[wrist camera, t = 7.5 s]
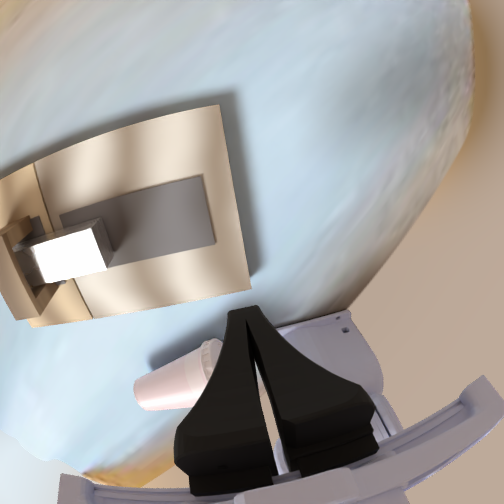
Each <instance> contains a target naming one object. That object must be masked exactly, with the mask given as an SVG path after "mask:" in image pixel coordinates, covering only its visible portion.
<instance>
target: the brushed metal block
mask: <svg viewBox="0 0 504 504" xmlns="http://www.w3.org/2000/svg"><path fill="white" fill-rule="evenodd" d="M12 249H13V251H14V254H15V256H16V258H17V261H18V263H19V265H20V267H21V270H22V272H23V274H24V276H25V278H26V280H27V282H28V284H29V286H30V287H33V286H38V285H42V284H46V283H50V282H55V281H59V280H63V279H67V278H72V277H76V276H80V275H85V274H89V273H94V272H98V271H102V270H107V268H108V266H109V264H110V262H111V260H112V259H113V257H114V255H115V254H114V252H113V249H112V246H111V243H110V241H109V238H108V235H107V232H106V229H105V226H104V223H103V220H102V217H99V218H96V219H92V220H89V221H86V222H82V223H79V224H76V225H73V226H69V227H66V228H63V229H60V230H57V231H54V232H51V233H48V234H45V235H42V236H39V237H36V238H33V239H30V240H27V241H25V242H22V243H19V244H16V245H15V246H14V247H13V248H12Z"/></svg>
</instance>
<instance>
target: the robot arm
mask: <svg viewBox="0 0 504 504" xmlns="http://www.w3.org/2000/svg"><path fill="white" fill-rule="evenodd" d="M338 316H339V317H338ZM254 359H255V360H254ZM255 362H256V364H257V367H258V370H259V373H260V375H261V378H262V381H263V383H264V386H265V389H266V391H267V394H268V397H269V400H270V403H271V406H272V410H273V414H274V418H275V421H276V425H277V429H278V432H279V436H280V438H278V439H277V441H276V445H275V447H274V453H273V450H272V446H271V442H270V439H269V435H268V431H267V427H266V423H265V419H264V415H263V411H262V407H261V402H260V396H259V389H258V382H257V374H256V367H255ZM382 392H383V374H382V371H381V367H380V364H379V362H378V360H377V358H376V356H375V354H374V353H373V351H372V350H371V348H370V346H369V345H368V343H367V342H366V340H365V339H364V338H363V336H362V334H361V333H360V332H359V330H358V329H357V327H356V326H355V324H354V323H353V321H352V320H351V312H350V311H349V310H344V311H341V312H337V313H334V314H330V315H327V316H323V317H319V318H316V319H312V320H308V321H304V322H301V323H297V324H293V325H289V326H285V327H281V328H276V329H275V328H274V327H273V326H272V324H271V323H270V322H269V321H268V319H267V318H266V317H265V316H264V314H263V313H262V311H261V309H260V308H259V306H257V305H254V306H250V307H245V308H241V309H236V310H231V311H229V312H228V319H227V327H226V332H225V337H224V341H223V345H222V348H221V351H220V354H219V357H218V360H217V363H216V365H215V368H214V370H213V373H212V375H211V377H210V379H209V381H208V383H207V385H206V387H205V389H204V390H203V392H202V394H201V395H200V397H199V399H198V400H197V402H196V403H195V405H194V406H193V408H192V409H191V411H190V412H189V413H188V414H187V416H186V417H185V418H184V419H183V421H182V422H181V423H180V424H179V426H178V427H177V430H176V434H175V440H174V463H175V464H176V466H177V467H179V468H180V469H181V470H182V471H183V472H185V473H186V474H187V475H188V476H189V485H190V488H167V489H166V488H161V489H160V488H156V489H155V488H131V487H117V486H107V485H99V484H94V483H92V482H91V481H90V480H88V479H86V478H83V477H79V476H74V475H68V474H63V473H62V474H61V477H60V483H59V492H58V502H57V504H409V501H408V499H407V497H406V495H405V493H404V491H406V490H408V489H410V488H411V487H413V486H415V485H417V484H419V483H420V482H422V481H424V480H425V479H427V478H428V477H430V476H432V475H433V474H435V473H436V472H438V471H439V470H441V469H442V468H444V467H445V466H447V465H448V464H450V463H451V462H452V461H454V460H455V459H457V458H458V457H459V456H461V455H462V454H463V453H465V452H466V451H467V450H469V449H470V448H471V447H473V446H474V445H475V444H476V443H478V442H479V441H480V440H481V439H482V438H484V437H485V436H486V435H487V434H488V433H489V432H490V431H491V430H492V429H493V428H494V427H495V426H496V425H497V424H498V423H499V422H500V421H501V420H502V419H503V418H504V400H503V399H502V397H501V396H500V395H499V394H498V392H497V391H496V390H495V388H494V387H493V386H492V385H491V383H490V382H489V381H488V380H487V378H486V377H485V376H484V375H482V376H481V377H479V378H478V379H476V380H475V381H474V382H472V383H471V384H469V385H468V386H467V387H466V388H465V389H464V390H463V392H462V393H461V394H460V396H459V398H458V399H456V400H455V401H453V402H452V403H450V404H449V405H447V406H446V407H444V408H442V409H441V410H439V411H437V412H436V413H434V414H432V415H431V416H429V417H428V418H426V419H424V420H422V421H420V422H418V423H416V424H415V425H413V426H411V427H409V428H407V429H405V430H403V427H402V425H401V423H400V421H399V419H398V417H397V416H396V414H395V412H394V410H393V408H392V407H391V405H390V404H389V402H388V401H387V399H386V398H385V397H384V395H382Z"/></svg>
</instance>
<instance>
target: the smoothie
mask: <svg viewBox="0 0 504 504" xmlns="http://www.w3.org/2000/svg"><path fill="white" fill-rule="evenodd" d="M222 345H223V343H222V342H221V341H220V340H219V339H216V338H213V339H211V340H208V341H204V342H203V343H202V345H201V347H200V348H198V349H196V350H194V351H192V352H190V353H188V354H186V355H184V356H182V357H180V358H178V359H176V360H174V361H172V362H170V363H168V364H166V365H164V366H162V367H160V368H158V369H156V370H154V371H152V372H150V373H148V374H146V375H144V376H142V377H140V378H138V379H136V381H135V382H134V395H135V398H136V400H137V402H138V404H139V405H140V406H141V407H142V408H143V409H145V410H147V411H155V410H168V409H178V408H187V407H193V406H194V405H195V403H196V402H197V400H198V399H199V397H200V395H201V394H202V392H203V390H204V389H205V387H206V385H207V383H208V381H209V379H210V377H211V375H212V373H213V370H214V368H215V365H216V363H217V360H218V357H219V354H220V351H221V348H222ZM254 360H255V359H254Z"/></svg>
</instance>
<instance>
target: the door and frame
mask: <svg viewBox="0 0 504 504" xmlns="http://www.w3.org/2000/svg"><path fill="white" fill-rule="evenodd" d="M99 217H102V220H103V223H104V226H105V229H106V232H107V235H108V238H109V241H110V243H111V246H112V249H113V252H114V254H115V255H114V257H113V259H112V260H111V262H110V264H109V266H108V268H107V270H102V271H98V272H94V273H89V274H85V275H80V276H76V277H72V278H67V279H63V280H59V281H55V282H50V283H46V284H42V285H38V286H33V287H30V286H29V284H28V282H27V280H26V278H25V276H24V274H23V272H22V270H21V267H20V265H19V263H18V261H17V258H16V256H15V254H14V251H13V249H12V248H13V247H14V246H15V245H16V244H19V243H22V242H25V241H27V240H30V239H33V238H36V237H39V236H42V235H45V234H48V233H51V232H54V231H57V230H60V229H63V228H66V227H69V226H73V225H76V224H79V223H82V222H86V221H89V220H92V219H96V218H99ZM249 289H252V288H251V283H250V277H249V272H248V266H247V260H246V255H245V249H244V244H243V238H242V232H241V227H240V221H239V215H238V210H237V204H236V198H235V193H234V187H233V181H232V175H231V170H230V164H229V158H228V152H227V146H226V141H225V135H224V129H223V123H222V117H221V111H220V105H219V104H218V105H212V106H207V107H201V108H196V109H192V110H187V111H182V112H178V113H174V114H169V115H165V116H161V117H158V118H154V119H150V120H146V121H143V122H139V123H136V124H132V125H129V126H126V127H123V128H119V129H116V130H113V131H110V132H107V133H104V134H101V135H99V136H96V137H93V138H90V139H88V140H85V141H82V142H80V143H77V144H75V145H72V146H70V147H67V148H65V149H62V150H60V151H58V152H55V153H53V154H51V155H49V156H46V157H44V158H42V159H40V160H38V161H36V162H34V163H31V164H29V165H27V166H25V167H23V168H21V169H19V170H17V171H15V172H14V173H12V174H10V175H8V176H6V177H4V178H3V179H1V180H0V292H1V294H2V296H3V298H4V300H5V302H6V304H7V305H8V307H9V309H10V311H11V312H12V314H13V316H14V318H15V319H16V320H22V319H27V320H28V322H29V323H30V325H31V327H32V328H34V327H42V326H49V325H56V324H63V323H70V322H77V321H83V320H90V319H93V317H94V319H96V318H102V317H108V316H114V315H120V314H126V313H132V312H138V311H143V310H149V309H154V308H160V307H165V306H171V305H176V304H181V303H186V302H191V301H196V300H201V299H206V298H211V297H216V296H221V295H226V294H231V293H235V292H240V291H245V290H249Z"/></svg>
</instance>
